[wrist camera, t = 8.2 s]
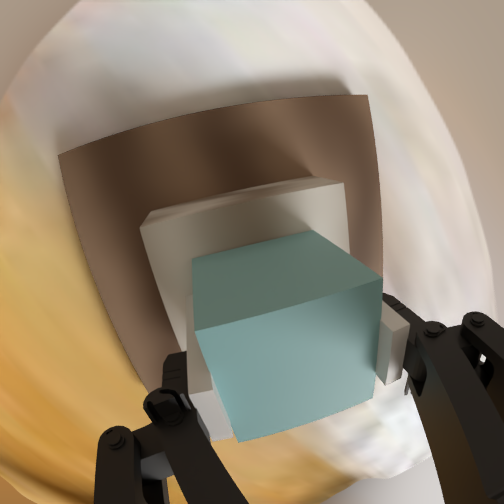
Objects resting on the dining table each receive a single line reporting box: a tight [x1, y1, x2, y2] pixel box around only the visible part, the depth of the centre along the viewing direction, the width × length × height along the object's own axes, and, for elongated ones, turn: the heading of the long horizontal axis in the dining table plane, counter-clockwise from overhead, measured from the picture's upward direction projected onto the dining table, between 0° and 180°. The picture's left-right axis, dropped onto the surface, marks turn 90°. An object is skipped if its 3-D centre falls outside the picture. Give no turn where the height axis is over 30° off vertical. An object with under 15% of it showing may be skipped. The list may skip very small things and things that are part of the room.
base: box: [58, 95, 383, 393], centre depth 18 cm, size 20×20×6 cm
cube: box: [192, 230, 383, 443], centre depth 12 cm, size 6×6×6 cm
